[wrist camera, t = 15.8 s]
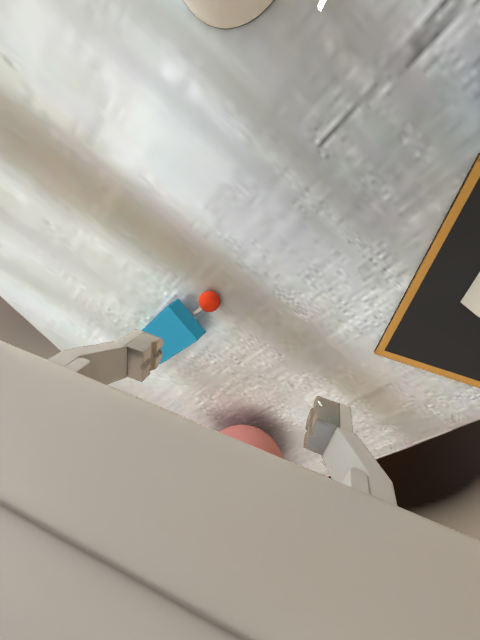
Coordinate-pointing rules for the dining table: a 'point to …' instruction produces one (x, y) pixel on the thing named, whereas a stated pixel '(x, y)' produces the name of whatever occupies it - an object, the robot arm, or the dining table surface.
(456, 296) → the centre mat
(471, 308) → the stepped beige block
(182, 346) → the lever
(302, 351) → the dining table surface
